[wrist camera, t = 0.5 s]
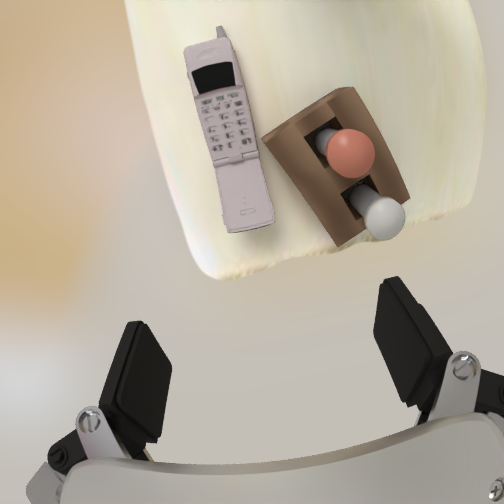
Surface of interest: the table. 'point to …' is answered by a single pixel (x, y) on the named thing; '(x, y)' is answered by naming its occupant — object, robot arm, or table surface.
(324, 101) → the block
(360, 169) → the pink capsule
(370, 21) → the table surface
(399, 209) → the white light bulb
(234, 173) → the mobile phone
